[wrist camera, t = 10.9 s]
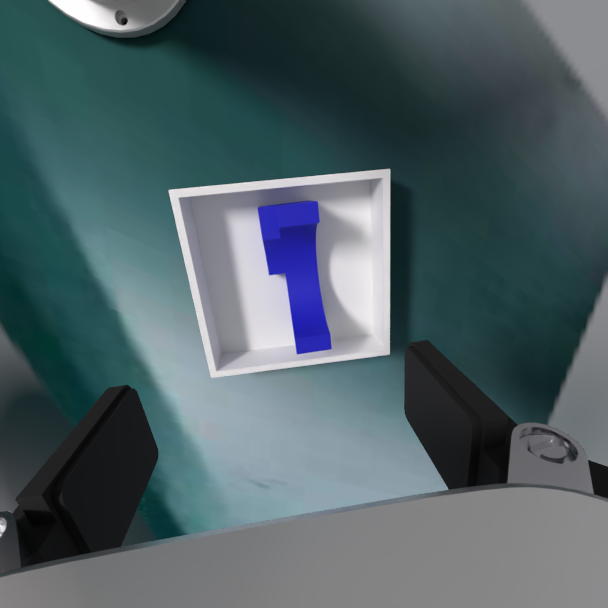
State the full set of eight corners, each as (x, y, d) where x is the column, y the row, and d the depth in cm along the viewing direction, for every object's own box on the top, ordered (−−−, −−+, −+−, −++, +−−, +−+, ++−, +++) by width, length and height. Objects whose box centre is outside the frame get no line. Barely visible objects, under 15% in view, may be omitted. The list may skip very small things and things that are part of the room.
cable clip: (259, 206, 27) (255, 209, 22) (308, 200, 28) (317, 201, 22) (278, 328, 32) (279, 357, 26) (321, 322, 32) (331, 349, 26)
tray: (183, 190, 27) (168, 190, 23) (374, 172, 28) (390, 168, 24) (218, 356, 33) (211, 377, 29) (376, 336, 34) (389, 354, 30)
